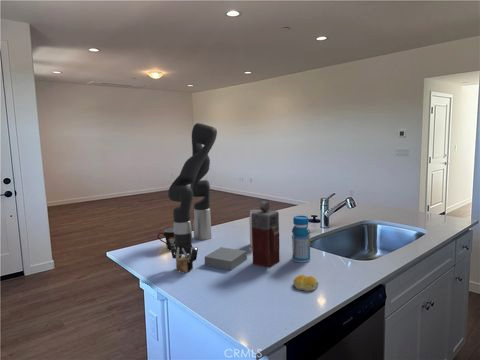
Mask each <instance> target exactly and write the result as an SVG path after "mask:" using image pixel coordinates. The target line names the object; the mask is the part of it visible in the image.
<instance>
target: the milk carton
mask: <svg viewBox="0 0 480 360" xmlns="http://www.w3.org/2000/svg"><path fill="white" fill-rule="evenodd" d="M260 210H261V209H250V211H249V247H250V248H252V218H251V215H252V213H254V212H257V211H260Z"/></svg>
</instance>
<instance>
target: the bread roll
mask: <svg viewBox="0 0 480 360" xmlns="http://www.w3.org/2000/svg"><path fill="white" fill-rule="evenodd" d="M293 286H294V288H295V289H297V290H300V291H305V292H313V291H316V289H317V288H318V287H319V281H318V280H317V278H315V277H313V276H310V275H309V276H306V275H304V274H299V275H298V276H297V275H296V276H295V277H294V279H293Z"/></svg>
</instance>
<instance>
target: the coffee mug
mask: <svg viewBox="0 0 480 360" xmlns="http://www.w3.org/2000/svg"><path fill="white" fill-rule="evenodd" d="M163 231H164V232H159V233H157V238H158V240H159V241H161V242H162V243H164V244H166V247H167V250H168V249H169V250H168V251H170V250H171V249H170V245H172V244H175V242H174V227H169V228H165V229H164V230H163ZM160 235H163V236H164V237H165V241H164V240H163V239H161V238H160V237H159V236H160Z"/></svg>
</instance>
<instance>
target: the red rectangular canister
mask: <svg viewBox="0 0 480 360" xmlns="http://www.w3.org/2000/svg"><path fill="white" fill-rule="evenodd" d="M259 210H260V211H257V212H254V213H252V215H251V218H252V247H251V249H252V265H256V266H260V267H263V268H264V267H265V268H268V269H269V268H272V267H274V265H277V264H278V263H280V260H281V259H280V257H281V255H280V216H279V215H280V214H279V211H276V210H270V203H269V201H261V203H260V205H259Z"/></svg>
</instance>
